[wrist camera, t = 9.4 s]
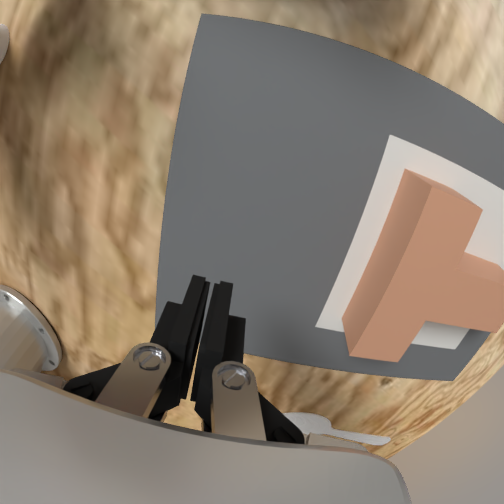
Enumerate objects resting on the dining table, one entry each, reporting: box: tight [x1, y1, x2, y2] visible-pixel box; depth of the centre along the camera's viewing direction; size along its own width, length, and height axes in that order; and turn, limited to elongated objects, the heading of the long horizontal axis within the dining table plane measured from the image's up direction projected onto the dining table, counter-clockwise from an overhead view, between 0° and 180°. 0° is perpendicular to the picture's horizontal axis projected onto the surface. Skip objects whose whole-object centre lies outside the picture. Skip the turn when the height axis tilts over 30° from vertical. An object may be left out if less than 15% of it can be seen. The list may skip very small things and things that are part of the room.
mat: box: [155, 14, 504, 381], centre depth 20 cm, size 24×31×1 cm
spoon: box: [282, 412, 391, 446], centre depth 32 cm, size 5×18×1 cm, turn 63°
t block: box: [342, 169, 504, 362], centre depth 18 cm, size 12×12×4 cm
